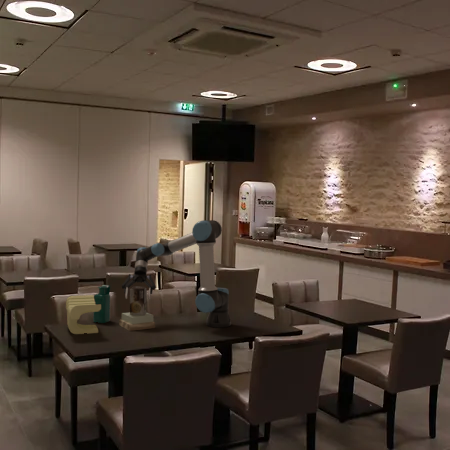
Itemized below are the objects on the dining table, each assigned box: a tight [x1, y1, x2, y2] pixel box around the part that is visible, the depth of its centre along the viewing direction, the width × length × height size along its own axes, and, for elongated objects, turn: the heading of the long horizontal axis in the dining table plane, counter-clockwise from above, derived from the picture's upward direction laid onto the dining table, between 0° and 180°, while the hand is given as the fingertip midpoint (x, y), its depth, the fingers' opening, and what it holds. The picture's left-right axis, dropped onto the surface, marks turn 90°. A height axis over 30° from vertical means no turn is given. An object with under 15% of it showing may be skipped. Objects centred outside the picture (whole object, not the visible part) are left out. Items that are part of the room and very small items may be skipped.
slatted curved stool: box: [65, 294, 101, 335], centre depth 314 cm, size 30×16×18 cm, turn 21°
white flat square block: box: [121, 311, 154, 324], centre depth 329 cm, size 14×14×4 cm
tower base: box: [118, 318, 156, 332], centre depth 328 cm, size 16×16×4 cm
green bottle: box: [92, 284, 111, 324], centre depth 339 cm, size 10×8×22 cm
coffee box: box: [129, 285, 148, 315], centre depth 328 cm, size 9×6×16 cm
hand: (137, 297), depth 325 cm, fingers open, 13 cm apart
